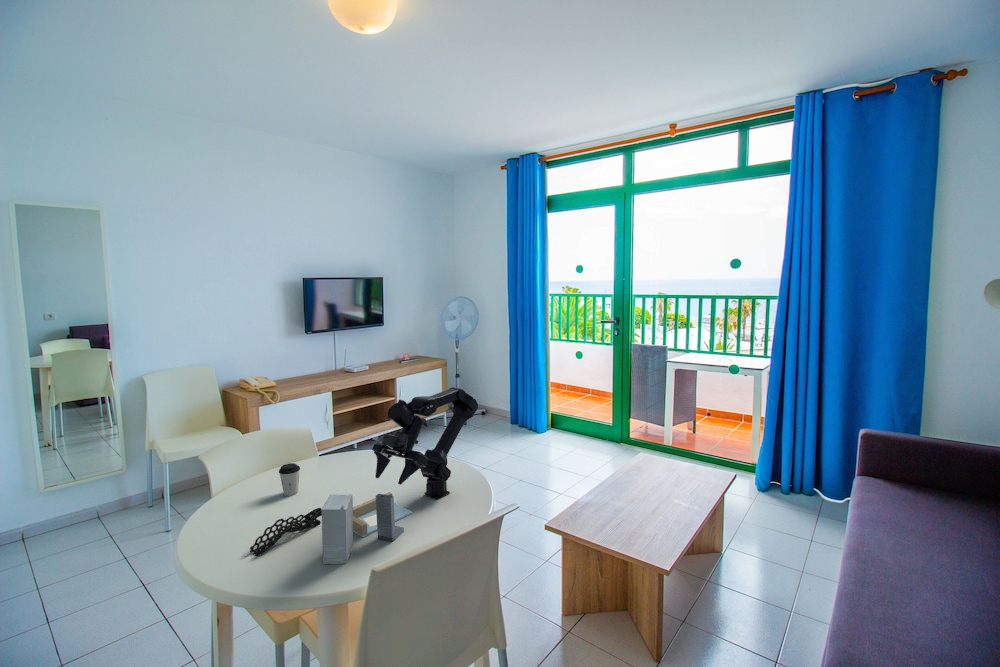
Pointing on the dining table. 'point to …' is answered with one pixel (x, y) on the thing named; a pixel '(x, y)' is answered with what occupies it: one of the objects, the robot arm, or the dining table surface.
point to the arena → (372, 516)
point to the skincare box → (337, 529)
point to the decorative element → (286, 530)
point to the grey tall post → (386, 518)
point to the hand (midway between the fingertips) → (387, 481)
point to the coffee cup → (290, 478)
